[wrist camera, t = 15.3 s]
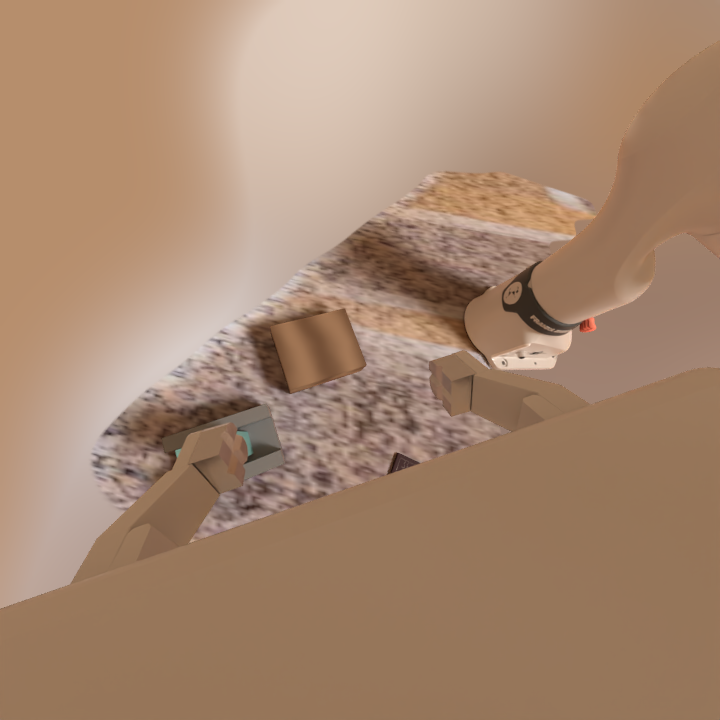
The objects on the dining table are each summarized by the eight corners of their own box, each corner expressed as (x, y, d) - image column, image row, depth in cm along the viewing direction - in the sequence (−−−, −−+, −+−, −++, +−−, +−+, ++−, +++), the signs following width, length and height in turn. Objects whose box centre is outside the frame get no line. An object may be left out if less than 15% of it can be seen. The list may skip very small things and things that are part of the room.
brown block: (340, 318, 45) (344, 308, 42) (360, 371, 44) (366, 365, 40) (271, 335, 41) (269, 326, 38) (290, 394, 40) (290, 389, 36)
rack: (269, 407, 38) (266, 403, 34) (285, 459, 37) (284, 463, 32) (178, 437, 34) (161, 438, 30) (192, 497, 33) (176, 508, 28)
